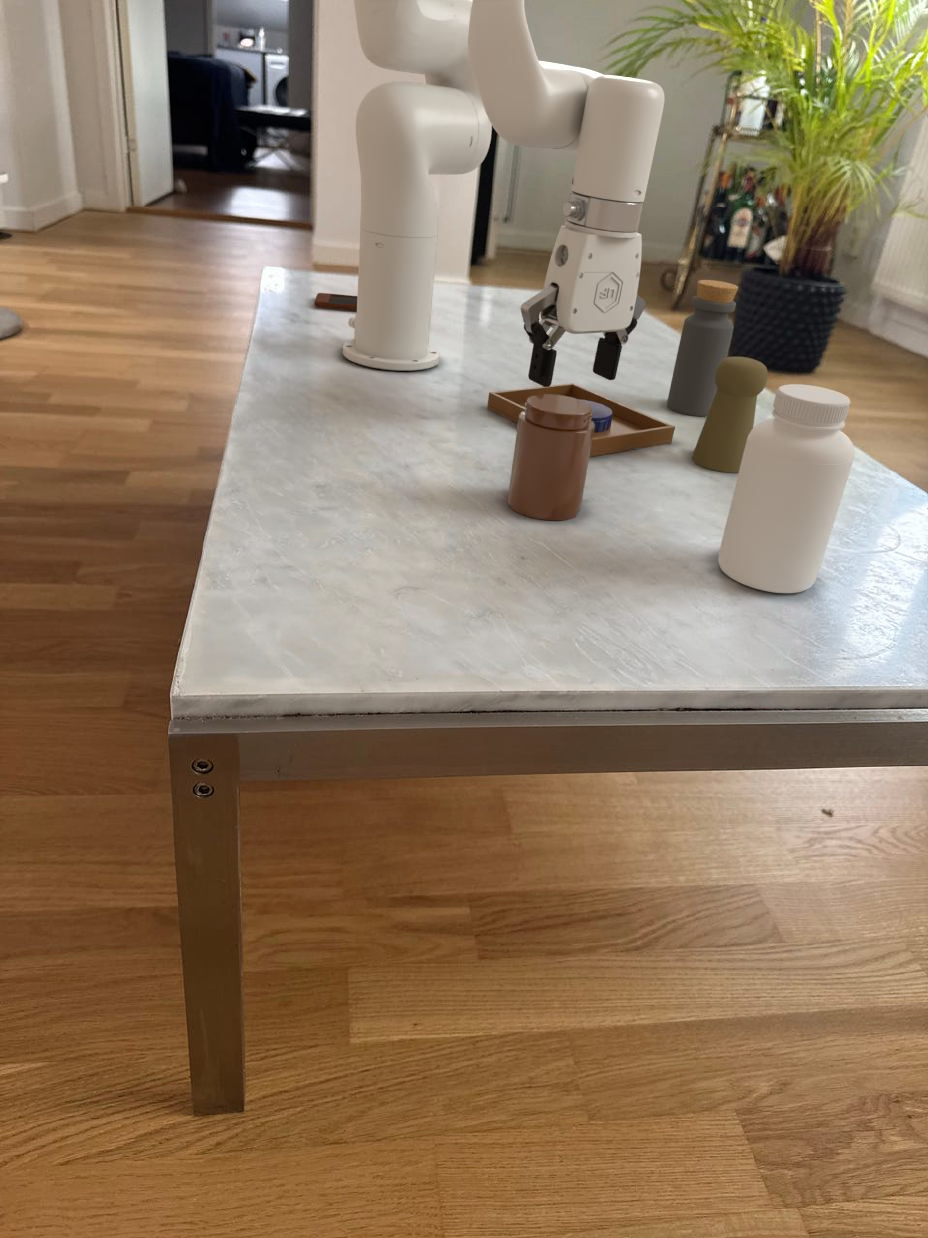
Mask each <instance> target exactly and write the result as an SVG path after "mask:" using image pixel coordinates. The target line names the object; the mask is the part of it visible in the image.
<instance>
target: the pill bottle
mask: <svg viewBox="0 0 928 1238" xmlns="http://www.w3.org/2000/svg"><path fill="white" fill-rule="evenodd" d="M772 407H773V408H772V411H771V415H772V417H770V418H767V419H764V420H762V421H760V422H758V423H757V424H755V426H754V425H753V429H752V430H751V432H750V434H749V435H748V438H747V441H746V445H745V449H744V453H743V457H742V462H741V466H740V470H739V473H738V474H737V478H736V482H735V486H734V490H733V493H732V494H733V495H732V498H731V503H730V507H729V510H728V514H727V518H726V521H725V525H724V526H725V527H724V531H723V534H722V537H721V538H722V539H721V542H720V547H719V550H718V559H717V560H718V561H717V562H718V566H719V568H720V570H721V571H722V572H723V573H724V574H725V575H726V576H727V577H729V578H730V579H732V580H734V581H735V582H738V583H740V584H742V585H744V586H747V587H750V588H752V589H755V590H759V591H762V592H763V591H764V592H768V593H776V594H795V593H801V592H804V591H806V590H809V589H810V588H811V587H812V586H813V585H814V584H815V582H816V580H817V578H818V575H819V573H820V570H821V566H822V564H823V560H824V557H825V553H826V551H827V547H828V544H829V540H830V537H831V534H832V531H833V527H834V524H835V521H836V517H837V514H838V511H839V508H840V505H841V501H842V498H843V495H844V492H845V489H846V486H847V483H848V479H849V476H850V472H851V469H852V466H853V463H854V459H855V448H854V444H853V442H852V440H851V439H850V438H849V436H848V435H846V434H845V432H843V431H842V429H844V428H845V425H846V420H847V418H848V417H847V416H848V414H849V410H850V407H851V400H850V397H848V396H847V395H845V394H844V393H841V392H839V391H836V390H833V389H830V388H826V387H822V386H817V385H812V384H811V385H810V384H799V383H793V384H792V383H790V384H783V385H781V386H779V387H778V388H777V390H776V392H775V396H774V401H773V404H772Z"/></svg>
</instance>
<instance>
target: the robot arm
mask: <svg viewBox="0 0 928 1238" xmlns="http://www.w3.org/2000/svg"><path fill="white" fill-rule="evenodd" d="M353 1H354V2H353V3H354V12H355V20H356V28H357V34H358V38H359V43H360V47H361V51H362V52H363V55H364V56H365V58H366V59H367V60H368V61H369V63H371V64H372V65H375V66H376V67H379V68H381V69H386V70H390V71H396V72H403V73H408V74H417V75H424V78H425V83H422V82H421V83H420V82H412V81H390V82H384V83H381V84H378V85H377V86H375V87H373V88H371V89H370V90H369V91H368V92H367V93H366V94H365V95H364V96H363V98H362V99H361V102H360V104H359V106H358V108H357V112H356V118H355V137H356V138H355V140H356V147H357V155H358V163H359V173H360V219H359V220H360V221H359V228H360V231H359V233H360V234H359V249H358V250H359V251H358V252H359V255H358V273H357V275H358V277H357V295H356V296H357V311H356V314H355V315H354V316H351V317H350V318H349V319H348V321H347V322H348V326H349V327H350V328H352V329H354V333H353V335H354V337H353V339H351V340H348V341H346V342H345V343H344V344H343V345H342V354H343V357H344V358H346V359H347V360H349V361H351V362H352V363H355V364H358V365H361V366H364V367H367V368H373V369H380V370H385V371H386V370H387V371H401V372H402V371H404V372H405V371H411V372H412V371H421V370H422V371H423V370H428V369H432V368H433V367H435V366H437V365H438V364H439V363H440V357H441V355H440V352H439V351H438V350H437V349H436V348H435V347H432V346H431V345H429V344H430V331H431V321H432V308H433V307H432V306H433V296H434V283H435V272H436V260H437V247H438V232H439V207H438V203H437V198H436V196H435V195H436V194H435V192H434V189H433V186H432V183H431V178H430V175H444V176H448V175H449V176H450V175H451V176H452V175H453V176H455V175H464V174H465V175H466V174H468V173H470V172H473V171H474V170H476V169H477V168H478V167H479V166H480V165H481V164H482V163H483V162H484V160H485V158H486V157H487V155H488V152H489V149H490V144H491V141H492V134H493V133H492V131H493V129H494V131H495V132H496V133H497V134H498V135H499V137H500V138H501V139H503V140H504V141H505V142H506V143H509V144H511V145H514V146H516V147H523V148H540V149H551V150H562V151H563V150H565V151H566V150H567V151H576V157H575V163H574V168H573V175H572V181H571V185H570V191H569V197H568V201H565V202H564V203H563V205H562V215H564V217H565V220H564V225H561V226H560V228H559V230H558V234H557V236H556V240H555V243H554V246H553V249H552V251H551V256H550V260H549V262H548V266H547V271H546V276H545V279H544V283H543V284H544V285H543V288H542V289H543V290H541V291H539V292H538V293H537V294H535V295H533V296H532V297H530V298H529V299H527V300H526V301H524V302H523V303H521V305H520V313H521V317H522V322H523V329H524V332H526V334H527V336H528V340H529V342H530V344H533V345H532V350H531V351H532V352H531V356H530V357H531V358H530V363H529V368H528V376H527V377H528V379H529V381H532V382H534V383H535V384H537V385H540V387H542V386H543V387H549V386H551V385H552V383H553V377H554V372H555V365H556V360H557V354H558V353H557V350H556V349H554V347H555V345H556V344H557V343H558V342H559V341H560V339H561V338H562V337H563V335H564V334H565V333H566V332H567V333H569V334H573V335H583V334H584V335H585V334H599V333H602V334H603V336H604V337H603V336H602V337H599V338H598V342H597V346H596V351H595V355H594V361H593V365H592V373H594V374H595V375H597V376H599V377H602V378H604V379H605V380H608V381H614V380H616V379H617V372H618V368H619V363H620V359H621V354H622V349H623V346H624V345H626V344H627V343H628V341H629V336H630V334H631V333H632V332H633V331H634V330H635V329H636V328H637V325H638V320H639V319H640V317H641V315H642V314H643V313H644V310H645V309H646V306H647V302H646V301H645V300H644V299H643V298H642V297H640V295H639V294H638V291H639V282H640V276H641V267H642V254H643V253H642V251H643V240H642V239H643V237H642V233H639V227H640V222H641V217H642V213H643V208H644V202H645V199H646V193H647V189H648V185H649V179H650V174H651V170H652V166H653V162H654V161H653V160H654V155H655V151H656V145H657V141H658V137H659V132H660V127H661V122H662V117H663V112H664V107H665V101H666V99H665V98H666V97H665V96H666V95H665V92H664V89H663V88H662V86H661V85H660V84H659V83H657V82H654V81H651V80H647V79H641V78H635V77H628V76H623V75H613V74H603V73H600V72H598V71H595V70H592V69H589V68H584V67H579V66H574V65H568V64H563V63H557V62H550V61H545V60H539V58H538V55H537V52H536V49H535V46H534V43H533V40H532V36H531V33H530V32H531V31H530V29H529V26H528V21H527V16H526V7H525V0H353ZM540 319H541V320H540ZM551 328H552V329H551ZM550 329H551V330H550ZM548 331H550V332H549V333H548Z"/></svg>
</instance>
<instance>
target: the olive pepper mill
mask: <svg viewBox="0 0 928 1238" xmlns="http://www.w3.org/2000/svg"><path fill="white" fill-rule="evenodd" d="M768 372H769V371H768V369H767V366H766V365H765V364H764V363H762V362H761V361H759V360H756V359H754V358H750V357H747V356H746V357H745V356H727V358H725V359H723V360H722V361H721V362H720V363H719V365H718V367H717V369H716V373H715V383H716V386H717V388H718V389H717V391H716V394H715V396H714V399H713V402H712V404H711V407H710V410H709V412H708V415H707V416H706V418H705V420H704V423H703V426H702V429H701V431H700V434H699V437H698V439H697V441H696V444H695V447H694V449H693V452H692V455H691V460H692V461H693V462H694V463H695V464H697V465H698V466H701V467H703V468H705V469H708V470H712V471H716V472H721V473H731V474H737V473H738V474H739V470H740V466H741V462H742V457H743V453H744V449H745V445H746V441H747V438H748V435H749V434H750V432H751V430H752V429H753V428H754V424H755V416H756V407H757V401H758V396H759V395H760V394H761V393H762V392H763V391H764V389H765V388H766V385H767V382H768V377H769V375H768V374H769V373H768Z"/></svg>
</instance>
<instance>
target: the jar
mask: <svg viewBox="0 0 928 1238" xmlns="http://www.w3.org/2000/svg"><path fill="white" fill-rule="evenodd" d="M525 407H526V410H525V411H523V412H521V413H520V414H519V419H518V423H517V427H516V435H515V436H516V437H515V442H514V449H513V456H512V464H511V472H510V479H509V486H508V495H507V504H508V506H509V507H510V508H511V509H512V510H513V511H515V512H517V513H519V514H520V515H523V516H526V517H529V518H533V519H536V520H537V519H538V520H544V521H566V520H570V519H573V518H575V517H577V516H578V515H579V514H580V513H581V509H582V503H583V496H584V492H585V484H586V480H587V474H588V468H589V463H590V458H591V457H590V452H591V446H592V440H593V435H594V429H595V424H594V422H593V421H592V420H591V419H592V413H593V411H592V407H591V406H590V405H589V404H588V403H586V402H584V401H582V400H579V399H576V398H572V397H568V396H562V395H553V394H541V395H534V396H531V397H529V398H528V399H527V402H525Z"/></svg>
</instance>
